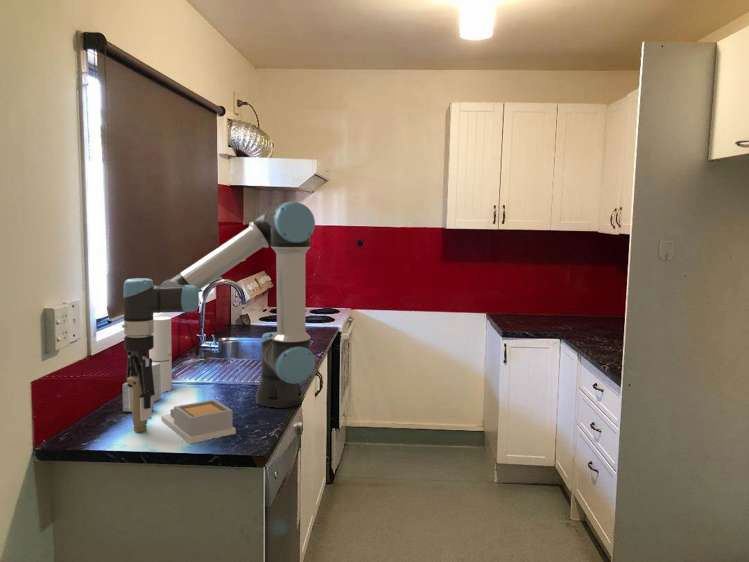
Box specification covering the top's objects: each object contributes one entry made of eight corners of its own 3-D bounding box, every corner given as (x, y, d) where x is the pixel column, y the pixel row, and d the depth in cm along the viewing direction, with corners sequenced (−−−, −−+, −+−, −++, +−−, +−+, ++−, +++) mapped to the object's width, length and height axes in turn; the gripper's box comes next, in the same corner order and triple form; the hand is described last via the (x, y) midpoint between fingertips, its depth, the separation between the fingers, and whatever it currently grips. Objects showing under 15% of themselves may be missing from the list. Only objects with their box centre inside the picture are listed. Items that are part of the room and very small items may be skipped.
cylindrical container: (175, 387, 205) (175, 317, 202) (164, 393, 198) (164, 320, 195) (156, 386, 206) (156, 316, 204) (145, 392, 199) (144, 319, 197)
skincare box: (150, 397, 193) (149, 361, 192) (161, 398, 192) (160, 362, 191) (137, 402, 187) (137, 366, 186) (149, 404, 186) (148, 367, 185)
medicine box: (154, 409, 181) (153, 382, 180) (145, 414, 177) (145, 386, 176) (131, 407, 183) (131, 380, 182) (122, 411, 179) (122, 383, 178)
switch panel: (203, 412, 180) (203, 391, 179) (235, 433, 162) (235, 410, 162) (161, 420, 171) (161, 398, 171) (190, 443, 154) (189, 419, 154)
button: (210, 412, 169) (210, 404, 169) (222, 420, 163) (222, 411, 163) (183, 417, 164) (183, 408, 164) (194, 425, 158) (194, 416, 158)
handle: (134, 426, 166) (133, 375, 164) (155, 428, 165) (154, 376, 163) (124, 432, 161) (123, 379, 159) (146, 434, 160) (145, 381, 159)
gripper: (112, 329, 166) (114, 406, 169) (137, 343, 149) (138, 428, 151) (140, 327, 171) (141, 401, 173) (167, 340, 154) (167, 423, 156)
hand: (140, 414), depth 162 cm, fingers open, 10 cm apart
